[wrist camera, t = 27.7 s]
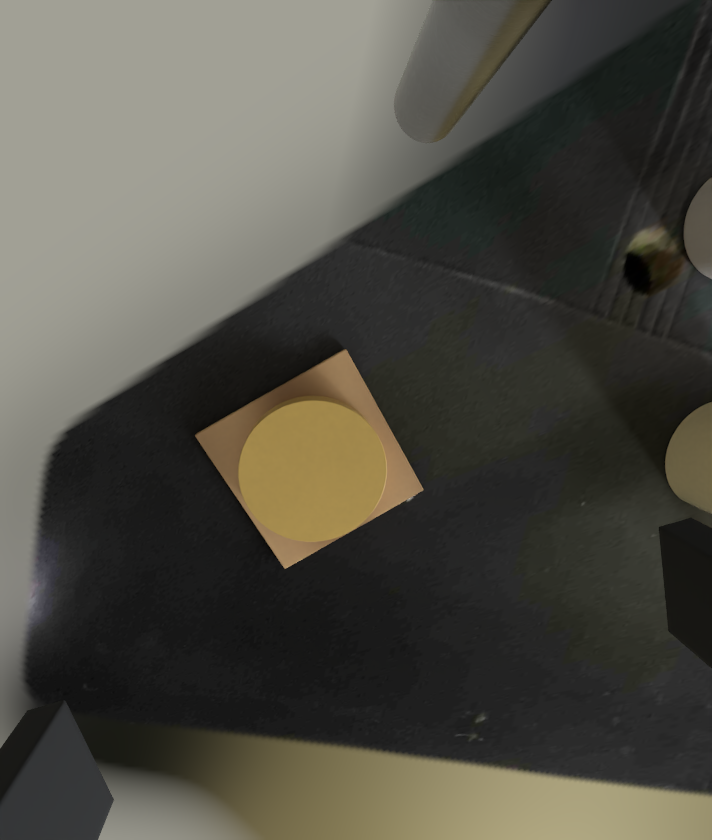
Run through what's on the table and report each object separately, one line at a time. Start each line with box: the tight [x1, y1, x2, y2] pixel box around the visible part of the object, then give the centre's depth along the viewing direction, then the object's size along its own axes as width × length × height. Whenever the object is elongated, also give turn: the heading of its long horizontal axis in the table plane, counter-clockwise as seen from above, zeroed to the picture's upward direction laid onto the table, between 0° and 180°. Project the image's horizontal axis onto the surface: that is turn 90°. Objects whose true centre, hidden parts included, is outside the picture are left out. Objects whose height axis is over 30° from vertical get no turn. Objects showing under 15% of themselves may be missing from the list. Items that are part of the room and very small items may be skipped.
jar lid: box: [238, 396, 387, 542], centre depth 29 cm, size 9×9×2 cm
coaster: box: [195, 349, 423, 569], centre depth 30 cm, size 11×11×1 cm
